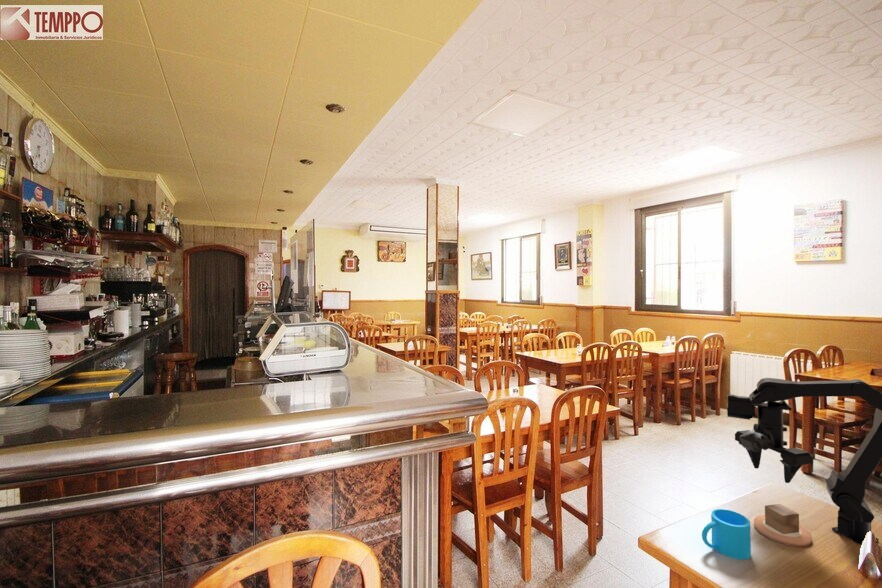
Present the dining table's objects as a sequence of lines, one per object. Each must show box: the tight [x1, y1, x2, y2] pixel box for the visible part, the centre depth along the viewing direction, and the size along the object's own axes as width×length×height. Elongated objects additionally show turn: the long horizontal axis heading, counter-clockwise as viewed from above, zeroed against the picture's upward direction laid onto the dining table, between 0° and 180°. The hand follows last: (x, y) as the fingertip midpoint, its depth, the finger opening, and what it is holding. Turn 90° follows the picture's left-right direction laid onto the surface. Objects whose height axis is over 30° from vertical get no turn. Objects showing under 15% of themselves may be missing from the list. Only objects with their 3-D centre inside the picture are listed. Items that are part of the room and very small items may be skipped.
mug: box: [701, 508, 752, 560], centre depth 102 cm, size 12×8×8 cm
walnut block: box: [764, 503, 800, 534], centre depth 108 cm, size 5×5×5 cm
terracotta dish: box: [753, 514, 813, 548], centre depth 108 cm, size 12×12×1 cm
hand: (771, 475), depth 115 cm, fingers open, 9 cm apart
